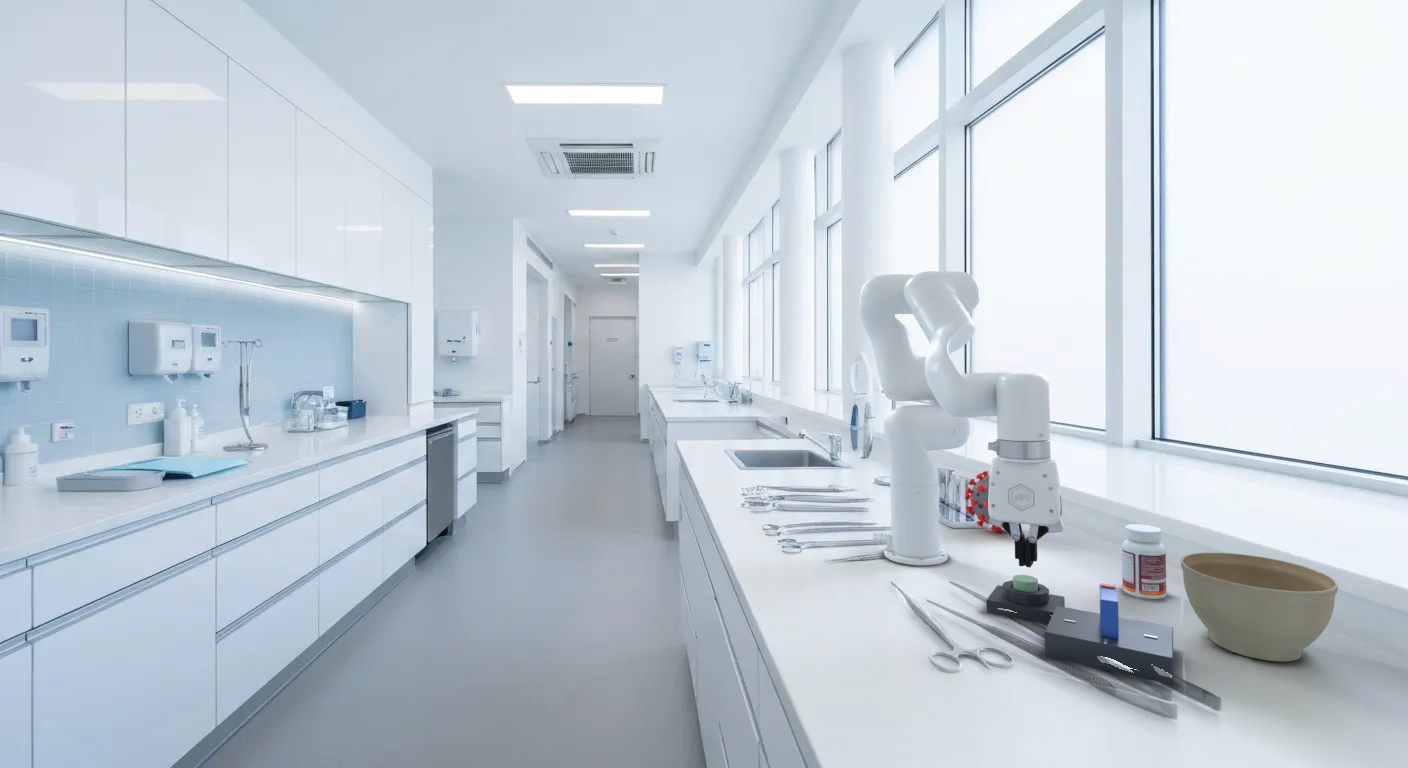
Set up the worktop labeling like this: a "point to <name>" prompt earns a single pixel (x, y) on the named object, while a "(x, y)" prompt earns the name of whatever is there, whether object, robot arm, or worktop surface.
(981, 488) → the virus model
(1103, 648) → the panel
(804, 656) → the worktop surface
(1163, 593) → the pill bottle
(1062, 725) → the worktop surface
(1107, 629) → the blue flat block
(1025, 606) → the block
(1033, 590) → the button
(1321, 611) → the planter bowl
